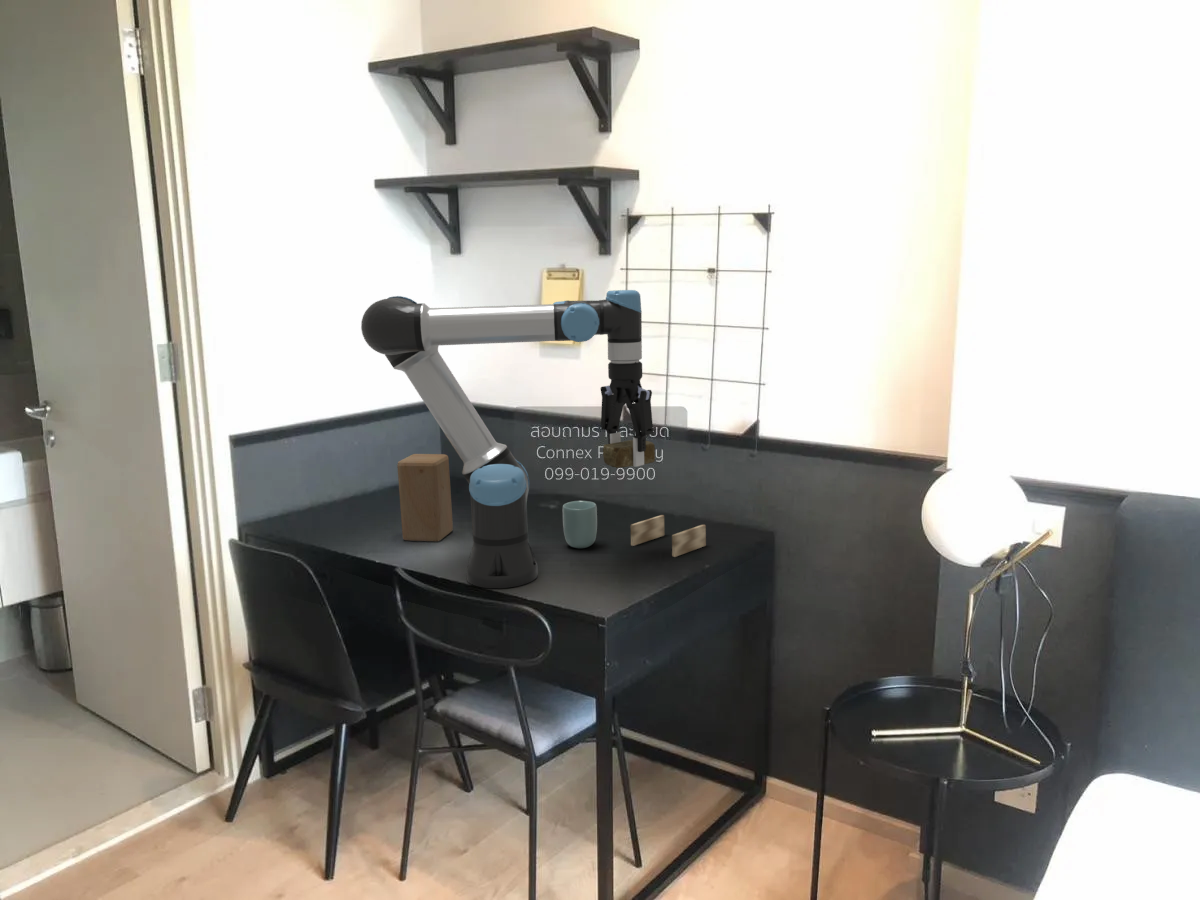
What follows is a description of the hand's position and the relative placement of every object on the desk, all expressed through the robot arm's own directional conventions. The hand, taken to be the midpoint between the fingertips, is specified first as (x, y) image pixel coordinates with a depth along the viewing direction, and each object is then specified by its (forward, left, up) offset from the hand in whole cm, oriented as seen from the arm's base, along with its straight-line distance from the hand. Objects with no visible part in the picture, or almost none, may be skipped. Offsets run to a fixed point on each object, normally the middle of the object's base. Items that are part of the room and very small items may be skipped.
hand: (627, 463), depth 207 cm
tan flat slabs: (+10, -4, -21) cm, 23 cm away
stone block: (+1, 0, 0) cm, 1 cm away
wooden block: (-23, +47, -21) cm, 56 cm away
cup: (-4, +12, -21) cm, 25 cm away
